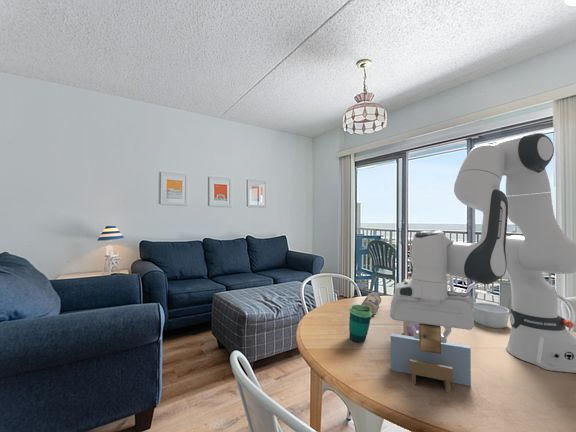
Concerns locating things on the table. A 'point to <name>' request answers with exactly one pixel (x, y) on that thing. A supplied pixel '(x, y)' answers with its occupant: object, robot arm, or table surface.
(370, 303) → the decorative bottle
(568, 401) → the table surface
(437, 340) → the tan wooden cube
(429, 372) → the wall board
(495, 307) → the ramekin
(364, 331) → the cup
